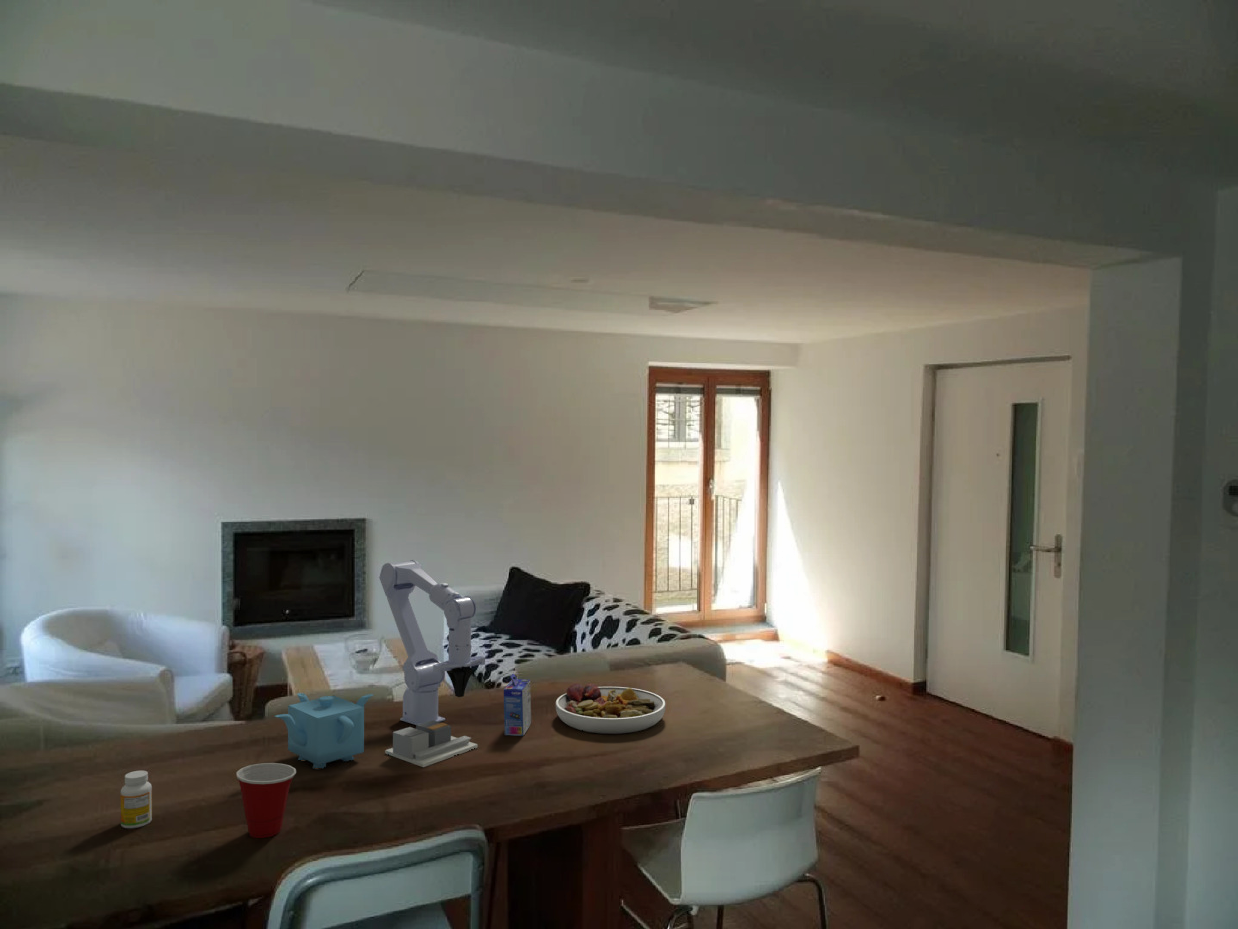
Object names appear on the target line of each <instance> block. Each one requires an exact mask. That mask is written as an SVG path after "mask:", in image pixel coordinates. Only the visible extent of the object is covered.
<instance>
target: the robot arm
mask: <svg viewBox="0 0 1238 929" xmlns="http://www.w3.org/2000/svg"><path fill="white" fill-rule="evenodd" d="M422 565H423V564H421V563H419V562H418V561H417V560H415V559H410V560H405V561H397V562H386V563H384V564H383V565H382V567H381V569H380V573H379V577H378V578H379V582H380V584H381V587H382V590H383V592H384V595H385V596H386V599H387V602H388V606H389V608H390V611H391V613H392V617H393V619H394V622H395V624H396V627H397V630H398V633H399V635H400V638H401V642H402V644H403V647H404V650H405V652H406V655H407V658H406V660H405V662H404V663H403V665H402V670H403V675H404V676H403V679H404V684H405V685H406V687H407V688H406V689H405V690H404V692H403V696H402V717H401V718H400V721H403V722H405V723H409V724H412V725H415V726H416V725H418V724H421V723H424V722H427V721H431V720H434V721H437V722H440V723H442V722H444V721H446V718H445V717H442V716H440V715H439V688H441V686H442V685H441V684H442V683H443V682H444V680H445V679H446V678H445V677H446V674H447V676H448V677H449V680H450V681H451V684H452V688H453V691H454V696H455V697H457V698H463V697H465V693H466V688H467V685H468V682H469V679H470V678H471V676H472V674H473V673H474V672H473V670H474V669H473V668H472V667H474V666H480V665H481V666H483V665H486V656H483V655H478V656H472V618H473V617H474V616H475V615H476V613H477V604H476V602H475V600H474V599H473V598H472V597H471V596H470V595H465V596H464V595H461V594H460V593H459V592H458V591H457V592H456V590H454V589H453V588H451V587H450V586H449V584H448V583H447V582H439V583H438V582H436V581H435V579H433V578H432V577H431V576H430V575H429V574H427V572H425V571H424V570H423V566H422ZM416 587H417V588H419V589H421V590H422V591H423V592H425V593H426V594H428V599H429V600H430V602H432V603H433V604H434V605H435V606H436V607H438V608H439V609H441V610H442V611H443V614H444V617H445V619H446V626H447V628H448V659H447V660H445V661H442V662H441V661H440V660H439V656H438V655H437V654H436V653H434V652H433V651H430V650H428V648H427V645H426V643H425V640H424V637H423V634H422V632H421V629H420V626H419V624H418V620H417V618H416V615H415V613H414V610H413V607H412V605H411V602H410V599H409V596H410V594H411V593H413V591H414V590H415V589H416Z"/></svg>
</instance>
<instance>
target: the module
mask: <svg viewBox="0 0 1238 929" xmlns="http://www.w3.org/2000/svg"><path fill="white" fill-rule="evenodd" d="M415 726H416V727H415V729H417V730H422V731H425V732H427V733H429V742H428V748H430V747H433V746H436V745H439V744H442V743H445V742H448V741H451V736H452V725H449V724H447V723H444V722H437V721H434V720H431V721H427V722H424V723H421V724H418V725H415Z"/></svg>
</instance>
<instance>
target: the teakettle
mask: <svg viewBox="0 0 1238 929" xmlns="http://www.w3.org/2000/svg"><path fill="white" fill-rule="evenodd" d="M296 695H297V697H298V699H299V701H300V702H298V703H293V704H288V706H287V709H288V710H287V713H282V714H277V715H274V717H275V718H279V719H281V720H283V722H284V724H285V726H286V729H287V734H288V735H287V745H288V746H287V751H289V752H291V753H293V754H294V755H296V756H299V757H298V759H297V761H298V760H307V761H308V762H310V763H311V764H312V765H313V766H312V768H313V767H314V768H322V769H324V767H325V768H326V767H327V763H331V762H334V761H339V760H340V761H342V760H343V761H342V762H350V761H349V760H351V761H353V760H354V759H355V757H354V756H355V755H359V754H362V753H365V706H366V703H367V702H368V700H369V699H370V698H372V696H374V694H373V693H370V694H366V695H362V696H361V697H360V698H359V699H358V700H357V701H356V703H355V702H354V703H353V702H352V701H349V700H347V699H344V698H341V697H339V696H336V695H334V694H333V695H324V696H321V697H318V698H316V699H312V700H311V699H310V700H309V698H308V696H307V695H306V694H305V693H303V692H299V693H298V692H297V694H296ZM314 768H313V769H314Z"/></svg>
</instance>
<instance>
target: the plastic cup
mask: <svg viewBox="0 0 1238 929" xmlns="http://www.w3.org/2000/svg"><path fill="white" fill-rule="evenodd" d="M296 774H297V769H296V768H295V767H293V766H292V765H289V764H285V763H277V762H276V763H275V762H268V763H267V762H265V763H256V764H249V765H247V766H244V767H242V768H240V769H239V770H237V771H236V778H237V780H238V782H239V787H240V792H241V798H242V803H243V810H244V816H245V820H246V825H247V830H248V833H249V836H250V837H252V838H254V839H264V838H266V839H267V838H270V837H273V836H276V835H278V834H279V833H280V832H281V831H282V828H283V822H284V817H285V813H286V808H287V802H288V797H289V792H290V787H291V784H292V782H293V778H294V777H295V775H296Z"/></svg>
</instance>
